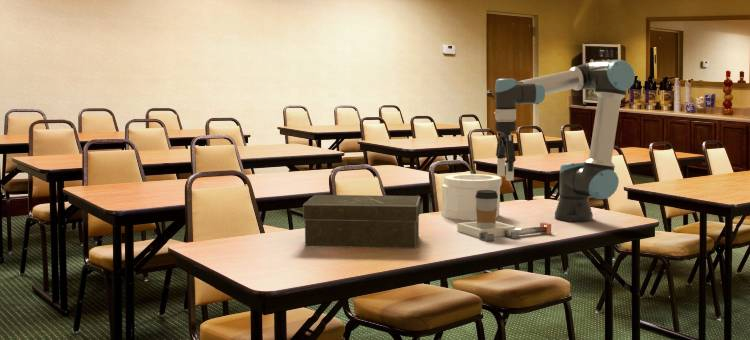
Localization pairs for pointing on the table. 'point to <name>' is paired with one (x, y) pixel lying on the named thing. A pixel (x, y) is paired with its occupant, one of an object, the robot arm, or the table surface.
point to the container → (466, 194)
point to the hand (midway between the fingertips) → (505, 178)
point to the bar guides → (490, 237)
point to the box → (362, 221)
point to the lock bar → (532, 230)
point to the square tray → (473, 230)
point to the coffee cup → (486, 208)
